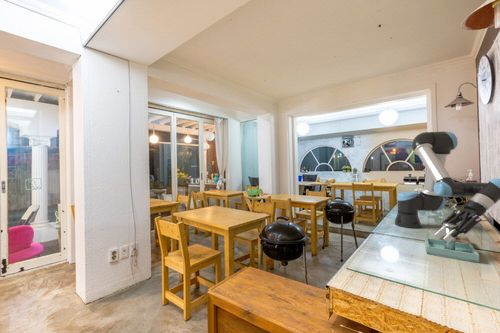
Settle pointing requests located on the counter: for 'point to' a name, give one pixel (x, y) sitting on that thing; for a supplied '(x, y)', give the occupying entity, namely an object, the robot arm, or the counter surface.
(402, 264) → the counter surface
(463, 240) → the holder
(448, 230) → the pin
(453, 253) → the tray
